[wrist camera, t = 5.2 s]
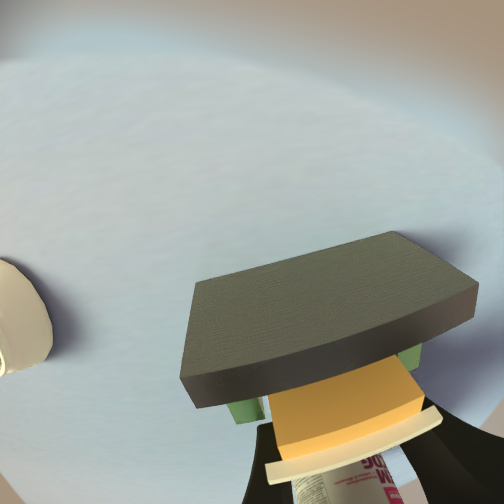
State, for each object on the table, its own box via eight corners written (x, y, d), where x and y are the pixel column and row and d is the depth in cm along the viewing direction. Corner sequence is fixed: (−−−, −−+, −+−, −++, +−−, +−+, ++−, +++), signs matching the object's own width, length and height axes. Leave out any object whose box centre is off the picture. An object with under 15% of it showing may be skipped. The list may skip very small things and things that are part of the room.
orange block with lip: (381, 356, 11) (435, 437, 6) (258, 394, 11) (275, 494, 6) (382, 318, 10) (449, 400, 6) (246, 358, 10) (261, 469, 6)
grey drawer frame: (390, 384, 12) (431, 450, 8) (252, 427, 12) (262, 507, 8) (392, 230, 10) (479, 282, 5) (195, 282, 10) (178, 377, 5)
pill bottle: (383, 416, 13) (443, 534, 5) (341, 461, 15) (378, 566, 7) (310, 414, 12) (358, 569, 4) (273, 462, 14) (296, 587, 6)
